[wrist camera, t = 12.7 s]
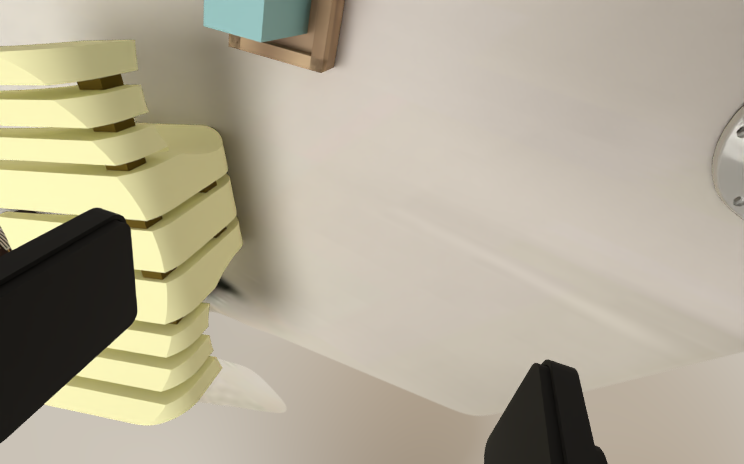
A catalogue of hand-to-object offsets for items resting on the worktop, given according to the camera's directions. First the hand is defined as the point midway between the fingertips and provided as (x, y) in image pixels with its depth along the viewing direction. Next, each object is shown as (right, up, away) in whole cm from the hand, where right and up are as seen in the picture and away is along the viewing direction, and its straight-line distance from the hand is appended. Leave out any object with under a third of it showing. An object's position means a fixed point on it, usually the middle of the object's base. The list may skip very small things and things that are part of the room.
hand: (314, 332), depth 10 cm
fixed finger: (-5, +20, +24) cm, 32 cm away
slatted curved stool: (-19, +7, +37) cm, 43 cm away
